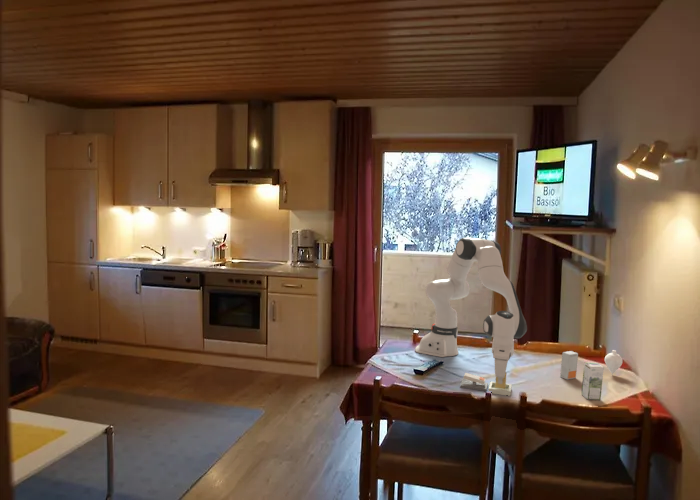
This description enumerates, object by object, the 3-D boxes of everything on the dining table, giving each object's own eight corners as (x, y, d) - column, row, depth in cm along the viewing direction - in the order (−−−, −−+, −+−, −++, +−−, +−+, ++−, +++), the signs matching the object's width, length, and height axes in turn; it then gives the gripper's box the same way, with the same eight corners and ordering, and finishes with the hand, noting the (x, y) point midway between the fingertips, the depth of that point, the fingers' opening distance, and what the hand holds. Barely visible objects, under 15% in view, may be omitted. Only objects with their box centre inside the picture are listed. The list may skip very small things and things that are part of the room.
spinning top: (606, 371, 266) (609, 347, 264) (623, 375, 260) (625, 350, 259) (600, 374, 260) (602, 350, 259) (617, 379, 255) (619, 353, 254)
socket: (488, 392, 232) (488, 388, 232) (490, 385, 240) (490, 381, 240) (510, 396, 229) (510, 391, 229) (511, 388, 238) (511, 384, 237)
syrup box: (594, 395, 233) (597, 362, 232) (601, 400, 228) (604, 366, 226) (581, 394, 233) (583, 361, 232) (587, 400, 227) (590, 366, 226)
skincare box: (567, 380, 251) (569, 354, 250) (559, 377, 255) (561, 352, 254) (576, 378, 254) (578, 353, 253) (569, 375, 258) (571, 350, 257)
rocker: (463, 378, 238) (464, 374, 238) (464, 375, 242) (465, 372, 242) (484, 384, 236) (484, 380, 235) (485, 381, 240) (485, 378, 239)
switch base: (460, 387, 237) (460, 382, 237) (462, 381, 245) (462, 376, 245) (486, 391, 234) (486, 386, 233) (487, 385, 241) (488, 380, 241)
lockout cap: (495, 387, 233) (496, 373, 233) (496, 384, 237) (496, 370, 236) (505, 388, 232) (505, 374, 231) (505, 385, 236) (506, 371, 235)
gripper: (497, 342, 244) (495, 372, 245) (493, 355, 224) (491, 388, 226) (511, 344, 242) (509, 374, 243) (509, 357, 222) (506, 390, 224)
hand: (500, 381), depth 234 cm, fingers closed on lockout cap, 4 cm apart
